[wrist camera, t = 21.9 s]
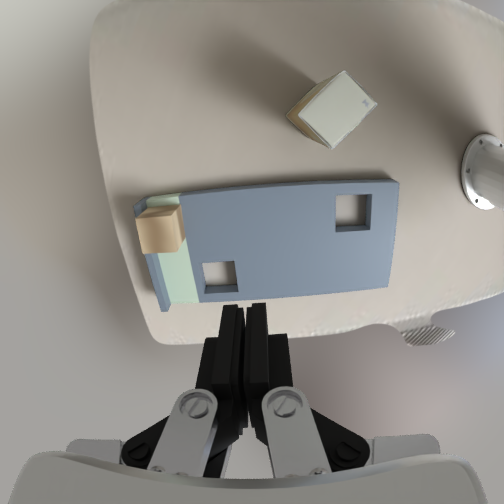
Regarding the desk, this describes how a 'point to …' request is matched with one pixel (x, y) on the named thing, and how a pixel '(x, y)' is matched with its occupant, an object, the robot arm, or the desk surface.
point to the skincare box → (332, 109)
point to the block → (161, 229)
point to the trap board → (276, 241)
